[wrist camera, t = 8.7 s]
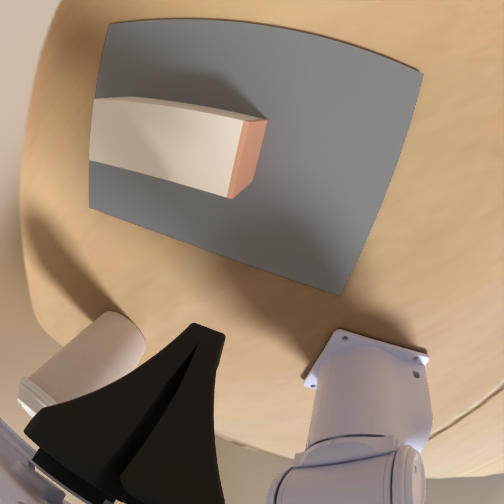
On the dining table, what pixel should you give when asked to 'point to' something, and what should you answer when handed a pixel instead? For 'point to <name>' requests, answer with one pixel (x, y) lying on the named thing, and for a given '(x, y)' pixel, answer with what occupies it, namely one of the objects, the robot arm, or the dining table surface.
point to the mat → (265, 141)
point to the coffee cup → (85, 363)
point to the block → (178, 142)
